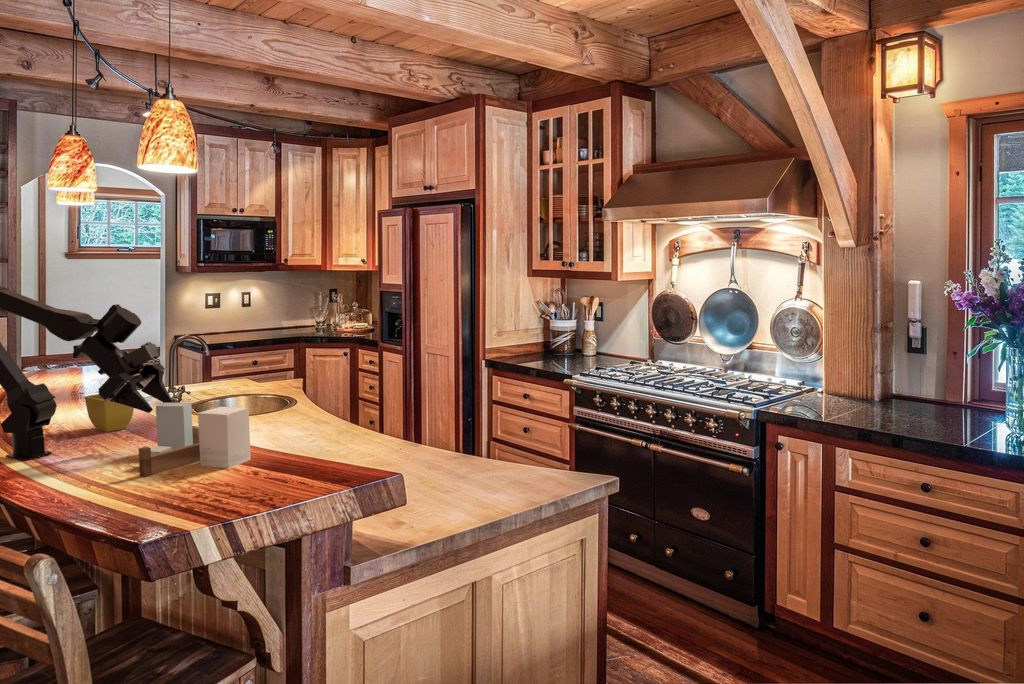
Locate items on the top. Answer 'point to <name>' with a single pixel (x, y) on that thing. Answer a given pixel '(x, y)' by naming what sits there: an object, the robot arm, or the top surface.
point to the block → (174, 425)
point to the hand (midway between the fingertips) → (161, 407)
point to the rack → (169, 457)
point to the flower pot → (108, 413)
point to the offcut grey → (159, 449)
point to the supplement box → (224, 437)
